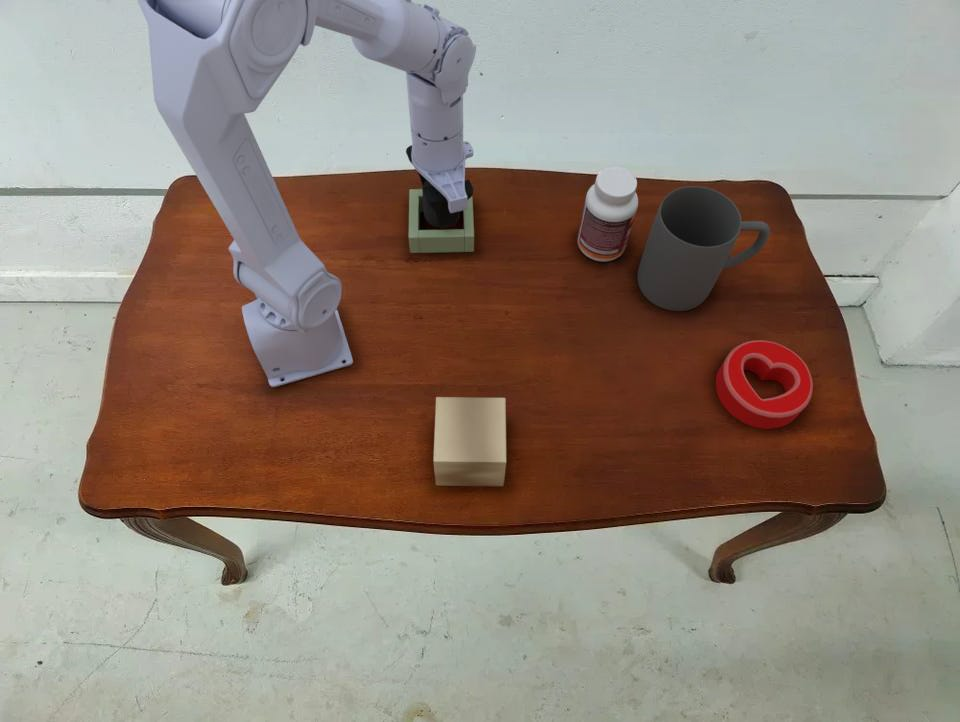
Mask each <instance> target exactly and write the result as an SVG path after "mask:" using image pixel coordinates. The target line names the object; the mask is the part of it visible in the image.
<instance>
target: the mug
mask: <svg viewBox="0 0 960 722" xmlns="http://www.w3.org/2000/svg"><path fill="white" fill-rule="evenodd" d="M746 231H747V232H749V231H751V232H752V231H758V235H757V237H756V239H755V241H754V242H753V243H752V244H751V245H750V246H749V247H747V248H746V249H744V250H743V251H741V252H738V253H737V254H735V255H733V256H731V257H730V255H731V252H732V250H733V248H734V246H735V244H736V242H737V240H738V238H739V235H740V233H741V232H746ZM770 234H771V228H770V226H769V224H768V223H766V222H765V221H760V220H748V221H746V220H743V221H742V216H741V213H740V210H739V208H738V207H737V206H736V204H735V203H734V202H733V200H731V199H730V198H729V197H728V196H727V195H725V194H723V193H721V192H720V191H717V190H716V189H712V188H709V187H705V186H698V185H687V186H682V187H679V188H675V189H674V190H672V191H671V192H669V193H668V194H667V195H666V196H665V197H664V198H663V200H662V201H661V203H660V204H659V206H658V209H657V212H656V214H655V217H654V219H653V223H652V225H651V228H650V231H649V234H648V237H647V240H646V243H645V246H644V249H643V252H642V255H641V258H640V262H639V265H638V270H637V284H638V287H639V290H640V291H641V293H642V295H643V296H644V297H645V299H646V300H648V301H649V302H650V303H652V305H655V306H656V307H659V308H661V309H663V310H667V311H672V312H685V311H690V310H693V309H694V308H697V307H699V306H700V305H701V304H703V303H704V302H705V301H706V300H707V298H708V297H709V295H710V293H711V292H712V289H714V287H715V284H716V282H717V281H718V279H719V277H720V274H721V273H722V271H723V270H728V269H730V268H734V267H735V266H737V265H740V264H742V263H744V262H746V261H748V260H750V259H751V258H753V257H755V256H756V255H757V254H758V253H760V252H761V250H762V249H763V248H764V247H765V245H766V244H767V242H768V240H769V238H770Z"/></svg>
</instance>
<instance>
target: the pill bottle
mask: <svg viewBox="0 0 960 722" xmlns="http://www.w3.org/2000/svg"><path fill="white" fill-rule="evenodd" d="M637 187H638V181H637V178H636V176H635V175H634V173H633V172H631V171H630V170H628V169H626V168H624V167H621V166H608V167H606V168H603V169H602V170H600V171H599V172H598V173H597V175H596V178H595V181H594V184H592V185H591V186H590V187H589V189H588V191H587V192H586V196H585V198H584V203H583V208H582V209H583V210H582V215H581V219H580V224H579V229H578V233H577V246H578V248H579V250H580V251H581V253H582V254H583V255H584V256H585V257H587V258H588V259H590V260H593V261H596V262H603V263H605V262H612V261H614V260H617V259H618V258H620V257H621V256H622V255H623V254H624V252H625V250H626V248H627V245H628V241H629V238H630V234H631V231H632V227H633V224H634V220H635V217H636V215H637V210H638V206H639V196H638V194H637V192H636V191H637Z"/></svg>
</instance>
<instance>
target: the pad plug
mask: <svg viewBox="0 0 960 722" xmlns="http://www.w3.org/2000/svg"><path fill="white" fill-rule="evenodd" d="M428 186H432V184H431V183H430V182H429V181H427V180H426V181H425V182H424V184H423V186H422V185H421V189H422V188H424V187H428ZM422 194H423V191H422ZM423 206H424V212H423V216H424V219H425V221H426V222H427V223H428V224H429V225H430V226H433V227H436V228H440V227H439V225H438V223H437V220H436V217H435V213H434V209H433V208H432V207H431V206H430V205H429V204H428V202H427V200H426V198H425V196H424V194H423ZM460 216H461V214H460V215H459V218H458V220H459V219H460Z"/></svg>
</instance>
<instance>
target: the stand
mask: <svg viewBox="0 0 960 722" xmlns="http://www.w3.org/2000/svg"><path fill="white" fill-rule="evenodd" d="M506 404H507V403H506V397H472V396H471V397H470V396H469V397H467V396H463V397H461V396H436V397H435V413H434V417H435V418H434V437H433V461H432V463H433V471H434V480H435V486H437V487H438V486H439V487H440V486H443V487H445V486H446V487H504V484H505V478H506V469H507V408H506V407H507V405H506Z"/></svg>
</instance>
